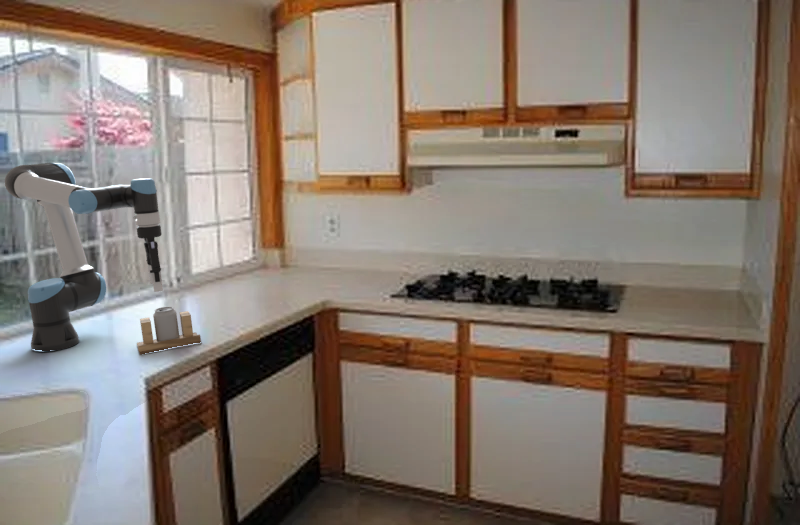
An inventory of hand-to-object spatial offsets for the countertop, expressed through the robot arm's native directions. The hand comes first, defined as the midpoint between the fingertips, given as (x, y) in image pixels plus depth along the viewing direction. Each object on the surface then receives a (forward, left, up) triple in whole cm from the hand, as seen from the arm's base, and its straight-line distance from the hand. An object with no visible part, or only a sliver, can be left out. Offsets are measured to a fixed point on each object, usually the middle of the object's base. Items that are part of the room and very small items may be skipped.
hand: (156, 287), depth 219 cm
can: (0, +2, -20) cm, 20 cm away
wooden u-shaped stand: (0, +2, -21) cm, 21 cm away
